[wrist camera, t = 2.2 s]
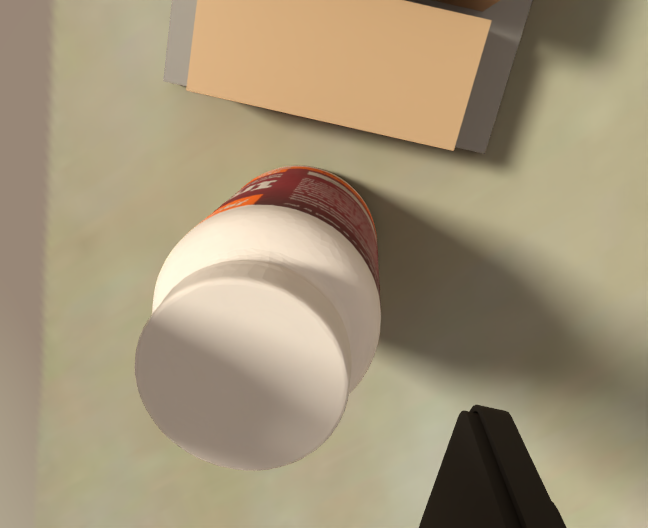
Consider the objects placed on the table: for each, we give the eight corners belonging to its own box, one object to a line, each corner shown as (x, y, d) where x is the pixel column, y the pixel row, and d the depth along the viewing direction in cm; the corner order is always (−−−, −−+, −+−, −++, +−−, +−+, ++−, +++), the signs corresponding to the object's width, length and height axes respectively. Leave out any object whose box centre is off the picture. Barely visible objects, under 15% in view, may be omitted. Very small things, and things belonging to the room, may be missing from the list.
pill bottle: (273, 131, 20) (179, 176, 10) (406, 217, 21) (450, 343, 11) (199, 259, 22) (54, 411, 12) (323, 334, 23) (290, 541, 12)
